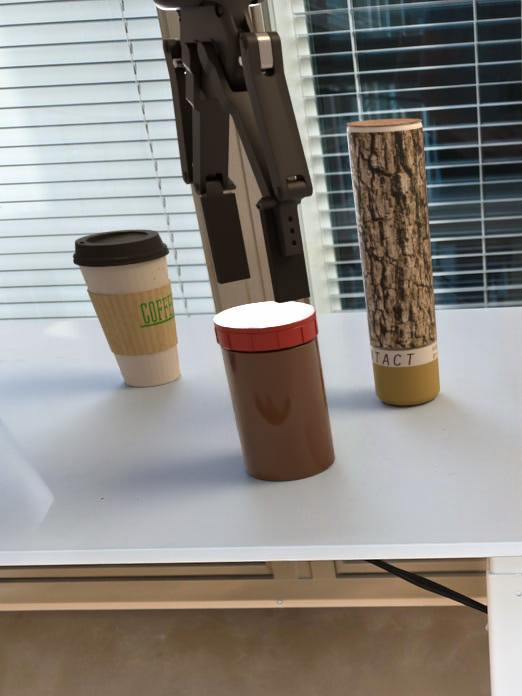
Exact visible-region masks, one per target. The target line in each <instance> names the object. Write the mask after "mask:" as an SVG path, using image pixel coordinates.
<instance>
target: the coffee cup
mask: <svg viewBox="0 0 522 696" xmlns="http://www.w3.org/2000/svg"><path fill="white" fill-rule="evenodd" d="M169 254H170V249H169V248H168V245H167V243H165V242H163V239H162V237H161V235H160V233H159V232H158V231H156V230H154V229H153V230H152V229H120V230H112V231H106V232H105V231H104V232H98V233H93V234H89V235H88V234H87V235H85V236H82V237H79V238H77V239H76V240H74V253H73V254H72V258H73V259H72V263H73V264H74V265H75V266H77V267H78V268H79V270H80V272H81V275H82V277H83V280H84V282H85V285H86V287H87V289H86V292H87V294H88V297H89V299H90V301H91V304H92V306H93V309H94V312H95V314H96V316H97V319H98V322H99V323H100V327H101V328H102V332H103V334H104V336H105V340H106V341H107V344H108V347H109V349H110V351H111V353H112V354H113V356H114V358H115V360H116V363H117V366H118V368H119V371H120V373H121V376H122V378H123V380H124V383H125V384H126V385H127V386H130V387H135V388H136V387H137V388H148V387H149V388H150V387H157V386H162V385H166V384H169V383H171V382H173V381H176V380H177V379H178V380H179V378H180V377H181V367H180V360H179V350H178V343H179V342H178V341H179V340H178V331H177V324H176V315H175V307H174V299H173V291H172V290H173V289H172V282H171V279H170V278H169V269H168V261H167V256H168V255H169Z"/></svg>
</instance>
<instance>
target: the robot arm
mask: <svg viewBox="0 0 522 696" xmlns="http://www.w3.org/2000/svg"><path fill="white" fill-rule="evenodd" d="M152 1H153V4H154V5H155V6H156V7H157V8H158V9H160V10H163V11H175V12H177V15H178V24H179V37H178V38H163V40H162V50H163V54H164V55H163V56H164V59H165V63H166V66H167V71H168V75H169V81H170V82H169V83H170V90H171V96H172V97H171V98H172V105H173V113H174V114H173V115H174V121H175V130H176V131H175V132H176V137H177V138H176V139H177V144H178V146H177V147H178V154H179V162H180V169H181V177H182V181H183V182H184V184H185V185H192V186H193V190H194V192H195V193H196V195H197V196H200V197H199V199H200V204H201V209H202V214H203V218H204V223H205V228H206V233H207V238H208V243H209V247H210V252H211V257H212V262H213V268H214V272H215V277H216V282H217V284H220V285H225V284H229V283H233V282H238V281H243V280H248V279H251V278H252V277H251V272H250V266H249V261H248V255H247V251H246V245H245V240H244V239H245V238H244V233H243V229H242V223H241V217H240V213H239V209H238V208H239V207H238V202H237V197H236V192H229V191H236V189H237V185H236V184H235V183H234V182H233V180H232V179H231V177H229V161H230V159H229V158H230V119H231V118H232V121H233V123H234V126H235V129H236V131H237V134H238V136H239V139H240V142H241V144H242V147H243V149H244V152H245V155H246V159H247V161H248V164H249V165H250V168H251V171H252V173H253V175H254V179H255V182H256V184H257V187H258V189H259V192H260V195H261V197H260V198H259V200H258V201H257V202H256V204H255V207H256V209H257V210H258V212H259V218H260V224H261V229H262V235H263V242H264V246H265V247H264V248H265V254H266V257H267V258H266V259H267V264H268V265H267V266H268V270H269V276H270V282H271V287H272V293H273V299H274V302H276V303H279V304H281V303H285V302H295V301H299V300H302V299H306V298H307V299H308V298H311V290H310V285H309V284H310V283H309V277H308V272H307V271H308V269H307V263H306V257H305V251H304V244H303V243H304V242H303V239H302V231H301V224H300V218H299V212H298V210H299V209H298V205H300V204H301V203H302V200H304V198H309V197H312V196H313V193H314V186H313V182H312V179H311V175H310V171H309V166H308V162H307V159H306V154H305V150H304V146H303V142H302V139H301V134H300V130H299V127H298V122H297V118H296V113H295V109H294V106H293V102H292V98H291V93H290V90H289V85H288V82H287V77H286V73H285V65H284V57H283V55H284V54H283V46H282V40H281V36H280V34H279V33H278V31H276V30H275V31H273V30H272V31H257V32H256V29H255V27H254V25H253V22H252V19H251V14H250V11H249V7H254V6H255V7H256V6H259V5H261V4H263V3H264V1H265V0H152ZM230 117H231V118H230Z"/></svg>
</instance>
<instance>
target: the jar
mask: <svg viewBox="0 0 522 696" xmlns="http://www.w3.org/2000/svg"><path fill="white" fill-rule="evenodd" d="M318 336H319V335H317V336H316V337H315V338H313V339H311V340H310V341H307V342H305V343H302V344H299V345H296V346H292V347H288V348H283V349H277V350H268V351H237V350H231V349H227V348H224V347H222V346H220V345H219V347H220V352H221V356H222V361H223V366H224V371H225V375H226V380H227V385H228V391H229V394H230V399H231V404H232V409H233V414H234V420H235V424H236V425H235V426H236V429H237V433H238V438H239V443H240V448H241V454H242V458H243V463H244V468H245V471H246V472H247V474H248V475H250V476H252V477H253V478H255V479H260V480H263V481H270V482H271V481H272V482H286V481H296V480H301V479H306V478H309V477H313V476H315V475H318V474H320V473H323V472H324V471H326V470H328V469H329V468H330V467H331V466H333V464H334V463H335V461H336V455H335V454H336V453H335V448H334V439H333V433H332V427H331V420H330V413H329V412H330V411H329V406H328V399H327V392H326V386H325V385H326V384H325V379H324V371H323V364H322V359H321V358H322V357H321V351H320V344H319V337H318Z"/></svg>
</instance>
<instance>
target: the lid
mask: <svg viewBox="0 0 522 696" xmlns="http://www.w3.org/2000/svg"><path fill="white" fill-rule="evenodd" d="M212 320H213V325H214V326H213V327H214V329H213V330H214V334H215V340H216V343H217V344H218V345H219V347H220V346H222V347H224V348H227V349H231V350H237V351H268V350H277V349H283V348H288V347H292V346H296V345H299V344H302V343H305V342H307V341H310V340H311V339H313V338H315V337H316V336H319V324H318V318H317V310H316V308H315V307H314V306H313V305H311V304H308V303H304V302H298V301H290V302H285V303H281V304H279V303H276V302H275V301H264V302H263V301H262V302H254V303H248V304H243V305H239V306H235V307H232V308H231V307H230V308H228V309H225V310H223V311H221V312H219V313H218V314H216V315H215V316H214V317H213V319H212Z"/></svg>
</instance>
